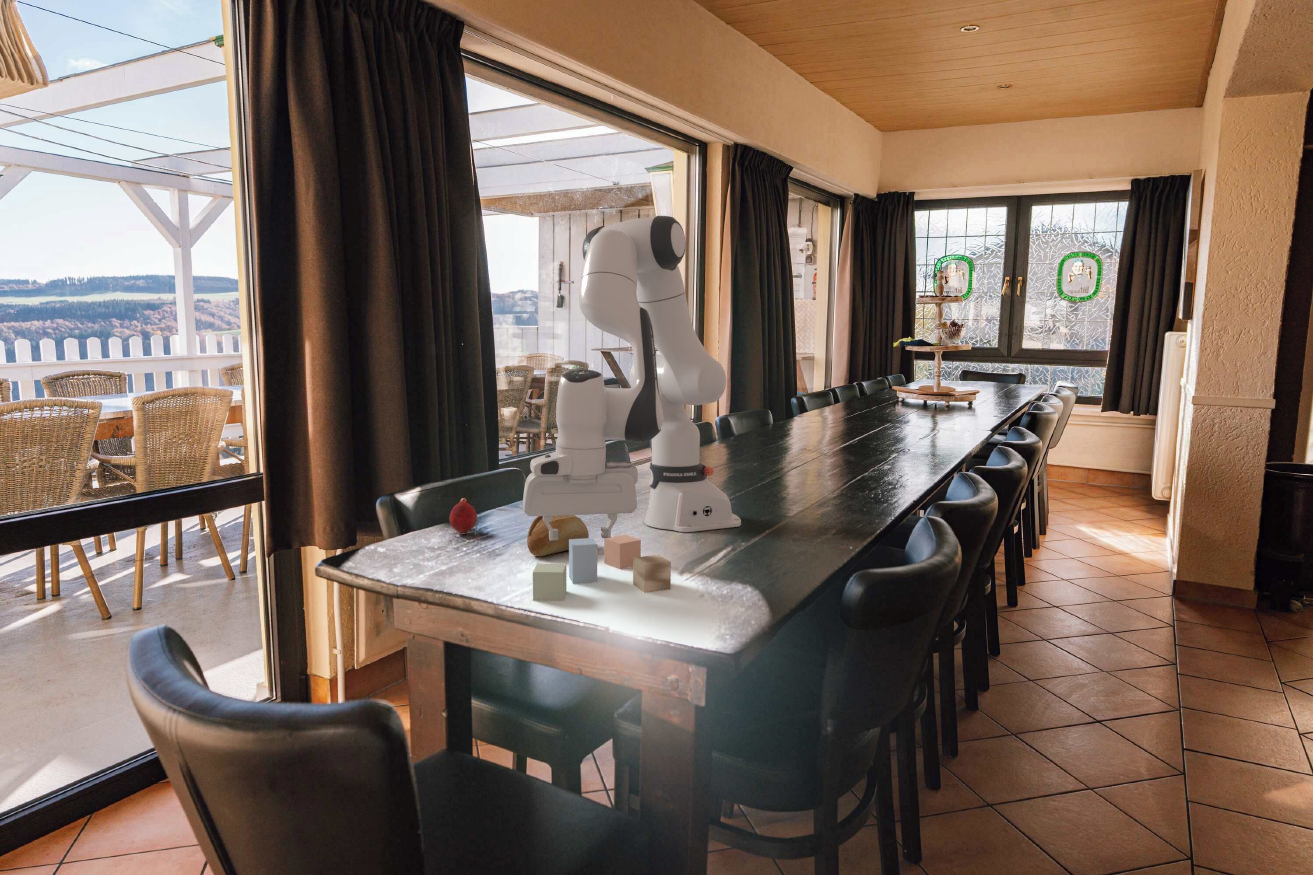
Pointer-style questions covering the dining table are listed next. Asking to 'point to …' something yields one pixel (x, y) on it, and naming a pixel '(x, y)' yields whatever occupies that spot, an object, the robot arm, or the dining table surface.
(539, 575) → the sage block
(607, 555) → the terracotta block
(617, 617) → the dining table surface
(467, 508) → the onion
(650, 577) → the birch block
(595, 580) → the pale blue block
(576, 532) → the bread roll
